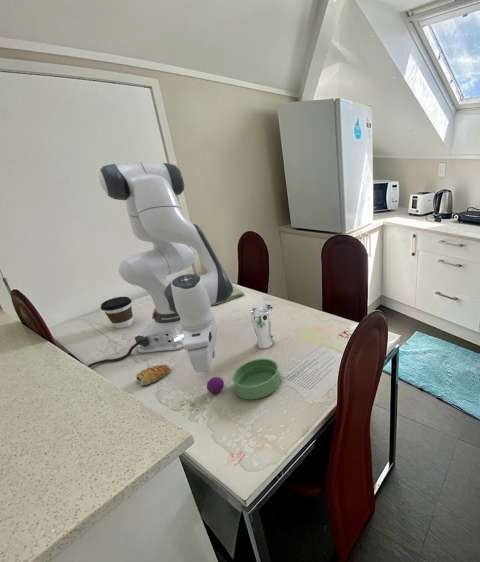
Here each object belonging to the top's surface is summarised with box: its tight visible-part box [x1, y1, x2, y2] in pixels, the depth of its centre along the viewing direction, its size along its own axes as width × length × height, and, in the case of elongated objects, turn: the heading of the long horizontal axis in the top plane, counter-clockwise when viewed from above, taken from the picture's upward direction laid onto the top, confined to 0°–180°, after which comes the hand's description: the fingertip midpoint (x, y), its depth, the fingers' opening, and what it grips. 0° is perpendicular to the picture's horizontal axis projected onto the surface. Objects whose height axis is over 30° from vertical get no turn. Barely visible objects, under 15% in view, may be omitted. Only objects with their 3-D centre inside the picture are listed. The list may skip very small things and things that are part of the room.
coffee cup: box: [100, 296, 134, 329], centre depth 139 cm, size 11×11×12 cm
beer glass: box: [250, 307, 274, 349], centre depth 124 cm, size 7×7×15 cm
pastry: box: [135, 364, 170, 386], centre depth 108 cm, size 9×7×4 cm
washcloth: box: [211, 285, 245, 306], centre depth 166 cm, size 13×18×3 cm
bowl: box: [232, 358, 281, 400], centre depth 104 cm, size 14×14×6 cm
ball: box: [206, 376, 225, 394], centre depth 102 cm, size 5×5×5 cm
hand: (210, 365), depth 98 cm, fingers open, 8 cm apart
